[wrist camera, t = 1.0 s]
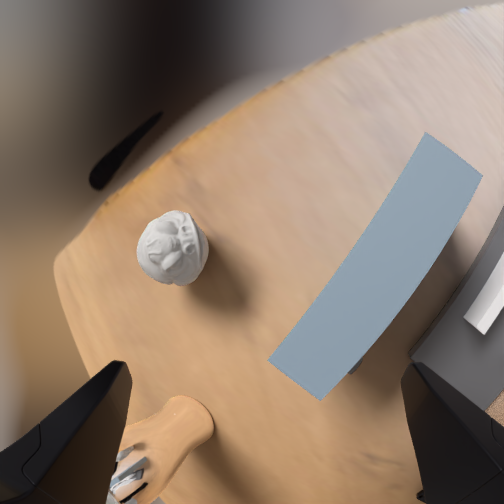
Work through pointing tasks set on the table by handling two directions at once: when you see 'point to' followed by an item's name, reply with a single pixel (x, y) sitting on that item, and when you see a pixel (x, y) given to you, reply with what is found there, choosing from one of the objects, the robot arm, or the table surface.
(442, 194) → the door
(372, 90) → the table surface
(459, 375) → the hinge frame
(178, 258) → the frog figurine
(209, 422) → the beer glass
